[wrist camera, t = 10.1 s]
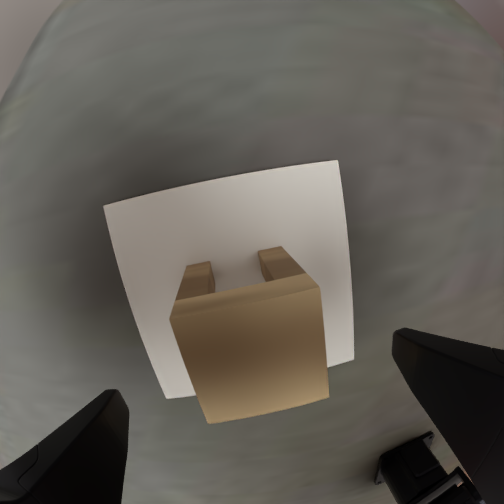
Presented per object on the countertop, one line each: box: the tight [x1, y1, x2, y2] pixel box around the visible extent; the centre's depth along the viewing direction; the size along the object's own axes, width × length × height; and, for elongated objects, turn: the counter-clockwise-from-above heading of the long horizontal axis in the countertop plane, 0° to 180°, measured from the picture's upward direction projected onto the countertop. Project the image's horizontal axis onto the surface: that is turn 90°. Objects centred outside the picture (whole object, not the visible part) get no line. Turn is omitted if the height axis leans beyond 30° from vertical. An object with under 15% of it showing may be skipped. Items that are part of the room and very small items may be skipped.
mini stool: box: [169, 246, 329, 424], centre depth 13 cm, size 5×5×6 cm
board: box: [103, 160, 354, 399], centre depth 16 cm, size 12×12×1 cm
